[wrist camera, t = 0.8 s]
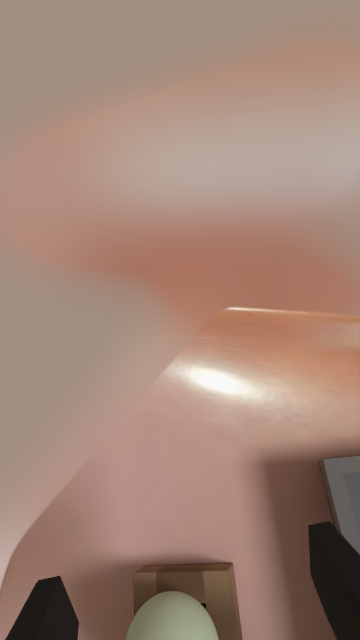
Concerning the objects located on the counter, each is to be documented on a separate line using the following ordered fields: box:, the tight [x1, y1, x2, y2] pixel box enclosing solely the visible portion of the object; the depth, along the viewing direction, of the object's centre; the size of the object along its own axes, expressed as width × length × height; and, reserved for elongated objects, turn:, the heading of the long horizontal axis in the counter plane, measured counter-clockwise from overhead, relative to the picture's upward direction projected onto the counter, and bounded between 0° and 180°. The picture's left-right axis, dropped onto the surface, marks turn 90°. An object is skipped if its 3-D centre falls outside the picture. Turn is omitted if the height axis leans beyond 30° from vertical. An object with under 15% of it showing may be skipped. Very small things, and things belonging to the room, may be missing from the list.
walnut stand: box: [134, 563, 242, 640], centre depth 20 cm, size 6×6×2 cm
